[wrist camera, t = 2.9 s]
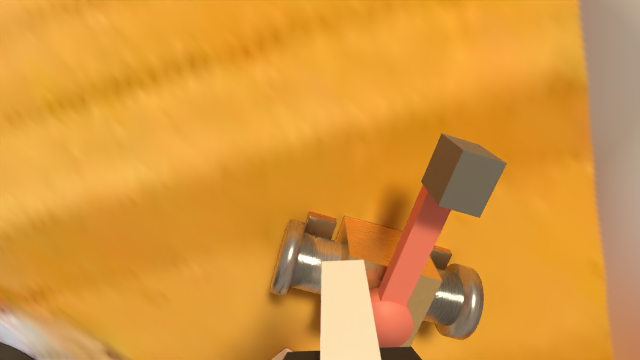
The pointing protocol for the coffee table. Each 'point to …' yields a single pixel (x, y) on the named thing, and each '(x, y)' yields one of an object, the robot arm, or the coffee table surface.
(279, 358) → the container
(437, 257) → the valve pipe
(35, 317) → the coffee table surface
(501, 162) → the lever
